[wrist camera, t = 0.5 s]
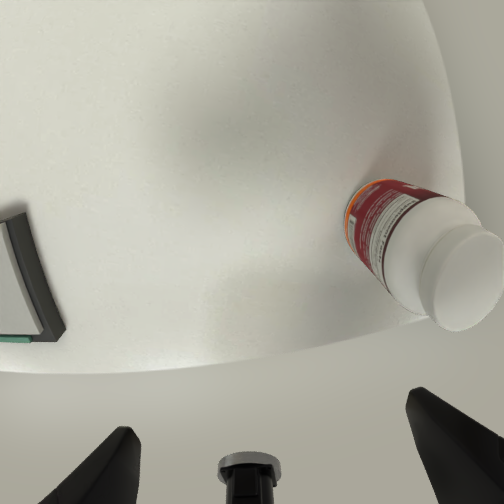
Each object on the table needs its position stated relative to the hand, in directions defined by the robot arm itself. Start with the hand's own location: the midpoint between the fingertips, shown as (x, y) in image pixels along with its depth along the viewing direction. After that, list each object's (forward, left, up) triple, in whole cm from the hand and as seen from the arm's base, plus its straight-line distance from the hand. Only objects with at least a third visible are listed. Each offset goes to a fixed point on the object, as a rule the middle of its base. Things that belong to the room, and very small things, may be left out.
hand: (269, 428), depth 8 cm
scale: (+1, +24, -14) cm, 28 cm away
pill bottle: (+2, -9, -14) cm, 17 cm away
